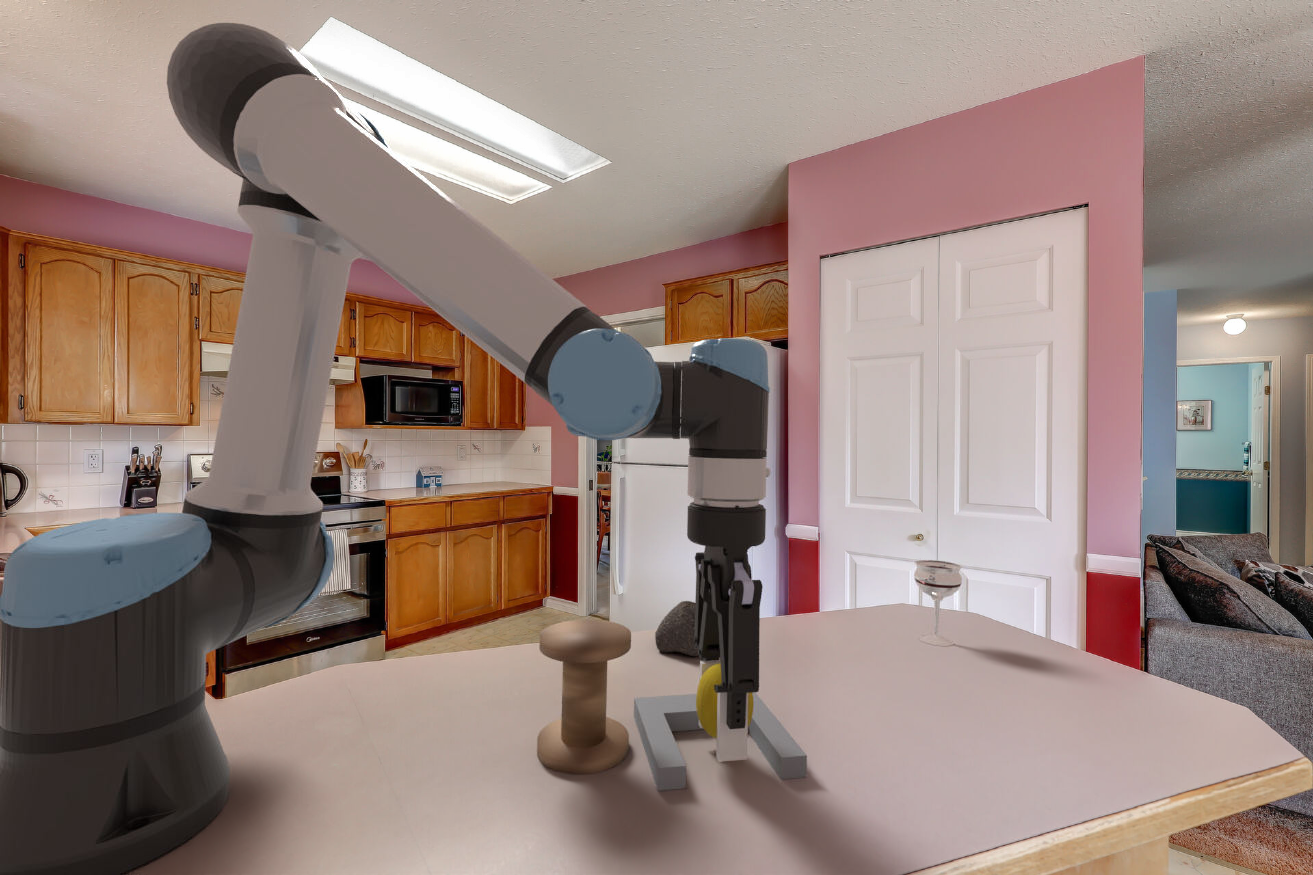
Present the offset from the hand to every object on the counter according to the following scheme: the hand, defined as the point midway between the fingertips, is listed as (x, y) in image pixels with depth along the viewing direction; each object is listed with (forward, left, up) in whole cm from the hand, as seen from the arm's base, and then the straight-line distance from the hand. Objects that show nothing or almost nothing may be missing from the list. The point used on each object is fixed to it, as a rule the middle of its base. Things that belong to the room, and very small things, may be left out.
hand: (721, 740), depth 57 cm
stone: (+4, +30, -2) cm, 30 cm away
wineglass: (+44, +28, -2) cm, 52 cm away
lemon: (0, 0, -1) cm, 1 cm away
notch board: (0, +3, -2) cm, 4 cm away
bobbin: (-13, +4, -2) cm, 14 cm away
